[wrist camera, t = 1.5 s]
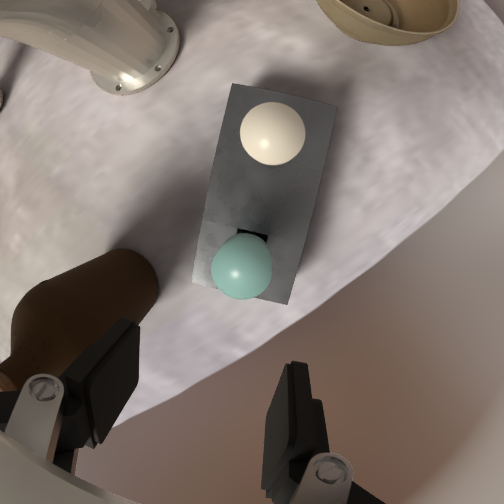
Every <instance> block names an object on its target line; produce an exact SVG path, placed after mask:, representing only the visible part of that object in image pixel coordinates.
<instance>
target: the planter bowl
mask: <svg viewBox="0 0 504 504" xmlns="http://www.w3.org/2000/svg"><path fill="white" fill-rule="evenodd" d="M316 1H317V3H318V5H319V6H320V8H321V9H322V10H323V12H324V13H325V14H326V15H327V17H328V18H329V19H330V20H331V21H332V22H334V24H335V25H336V26H337V27H338V28H339V29H340V30H341V31H343V32H344V33H345V34H347V35H348V36H350V37H352V38H354V39H357V40H359V41H362V42H366V43H374V44H380V45H388V46H400V45H409V44H414V43H418V42H421V41H423V40H426V39H428V38H430V37H432V36H434V35H436V34H439V33H441V32H443V31H445V30H447V29H448V28H449V27H450V26H452V25H453V23H454V22H455V21H456V19H457V16H458V13H459V0H316ZM364 7H367V8H368V9H369V11H365V10H364Z"/></svg>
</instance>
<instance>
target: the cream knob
mask: <svg viewBox="0 0 504 504" xmlns="http://www.w3.org/2000/svg"><path fill="white" fill-rule="evenodd" d="M240 138H241V142H242V145H243V147H244V149H245V150H246V152H247V153H248V154H249V155H250V156H251V157H253V158H254V159H255V160H257V161H259V162H260V163H263V164H266V165H281V164H284V163H286V162H288V161H290V160H291V159H292V158H294V157H295V156H296V155H297V154H298V153H299V151H300V150H301V148H302V146H303V144H304V141H305V127H304V123H303V121H302V119H301V117H300V116H299V115H298V113H297V112H296V111H295V110H293V109H292V108H291V107H289V106H287V105H285V104H282V103H277V102H267V103H263V104H260V105H258V106H256V107H254V108H253V109H251V110H250V111H249V112H248V113H247V114H246V116H245V117H244V119H243V121H242V124H241V128H240Z"/></svg>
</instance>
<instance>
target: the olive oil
mask: <svg viewBox="0 0 504 504" xmlns="http://www.w3.org/2000/svg"><path fill="white" fill-rule="evenodd" d="M158 289H159V288H158V280H157V276H156V274H155V271H154V269H153V268H152V266H151V265H150V263H149V262H148V261H147V260H146V259H145V258H144V257H143V256H142V255H140V254H139V253H137V252H135V251H133V250H129V249H115V250H112V251H110V252H108V253H105V254H103V255H101V256H99V257H97V258H95V259H93V260H91V261H88V262H86V263H84V264H82V265H80V266H77V267H75V268H73V269H71V270H69V271H66V272H64V273H62V274H60V275H58V276H55V277H53V278H51V279H49V280H45V281H43V282H41V283H39V284H38V285H36V286H35V287H33V288H32V289H31V290H29V291H28V292H27V293H26V294H25V296H24V297H23V298H22V299H21V301H20V302H19V304H18V305H17V307H16V309H15V311H14V314H13V318H12V324H11V355H10V357H9V358H7V359H6V360H4V361H3V362H2V363H1V364H0V392H3V391H16V390H22V389H23V386H24V384H25V383H26V381H27V380H28V379H29V378H31V377H32V376H35V375H37V374H49V375H52V376H55V377H56V378H58V377H59V376H60V375H61V374H62V373H63V372H64V371H65V370H66V369H67V368H68V367H69V366H70V365H71V364H72V363H73V361H74V360H75V359H76V358H77V357H78V356H79V355H80V354H81V353H82V352H83V351H84V350H85V349H86V348H87V347H88V346H89V345H90V344H91V343H92V342H95V341H96V342H97V341H98V340H99V339H100V338H101V337H102V336H103V335H104V334H105V333H106V332H107V331H108V330H109V329H110V328H111V327H112V326H113V325H114V324H115V323H116V322H117V320H118V319H119V318H121V317H125V318H128V319H131V320H135V321H136V323H137V325H139V324H140V322H141V321H142V320H143V318H144V317H145V316H146V314H147V313H148V312H149V311H150V309H151V308H152V307H153V305H154V304H155V302H156V299H157V296H158Z"/></svg>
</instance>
